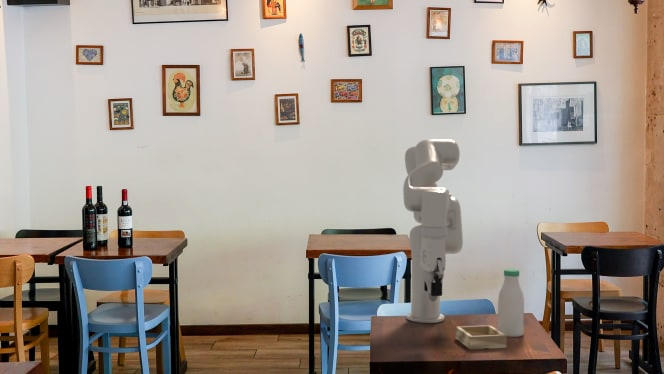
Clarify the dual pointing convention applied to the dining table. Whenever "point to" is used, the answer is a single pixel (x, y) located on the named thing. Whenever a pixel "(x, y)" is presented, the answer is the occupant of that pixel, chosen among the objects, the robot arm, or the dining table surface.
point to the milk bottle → (511, 305)
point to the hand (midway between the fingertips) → (433, 292)
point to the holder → (481, 337)
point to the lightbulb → (429, 283)
